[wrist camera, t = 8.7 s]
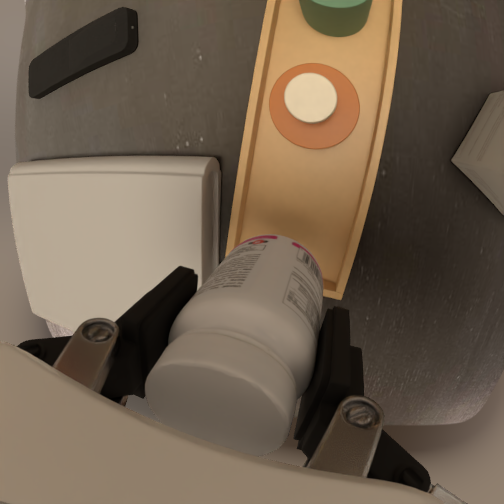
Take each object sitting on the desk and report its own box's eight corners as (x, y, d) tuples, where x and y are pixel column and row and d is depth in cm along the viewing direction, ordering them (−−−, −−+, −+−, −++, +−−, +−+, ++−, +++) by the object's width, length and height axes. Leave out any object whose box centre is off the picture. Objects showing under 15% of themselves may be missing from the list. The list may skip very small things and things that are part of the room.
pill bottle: (218, 306, 16) (135, 428, 8) (234, 220, 14) (123, 316, 6) (308, 333, 15) (276, 479, 8) (337, 248, 13) (334, 386, 6)
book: (205, 376, 26) (32, 313, 31) (219, 351, 29) (51, 299, 34) (202, 158, 19) (6, 165, 24) (222, 155, 23) (31, 159, 28)
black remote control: (39, 100, 25) (138, 50, 21) (27, 101, 24) (126, 47, 19) (39, 63, 24) (137, 6, 19) (27, 63, 22) (125, 1, 18)
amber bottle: (351, 82, 18) (362, 47, 10) (353, 148, 20) (367, 152, 12) (282, 82, 19) (253, 50, 12) (285, 147, 21) (257, 151, 13)
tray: (281, -34, 16) (276, -46, 14) (398, -14, 14) (403, -25, 13) (231, 260, 26) (223, 270, 24) (340, 288, 24) (341, 300, 22)
